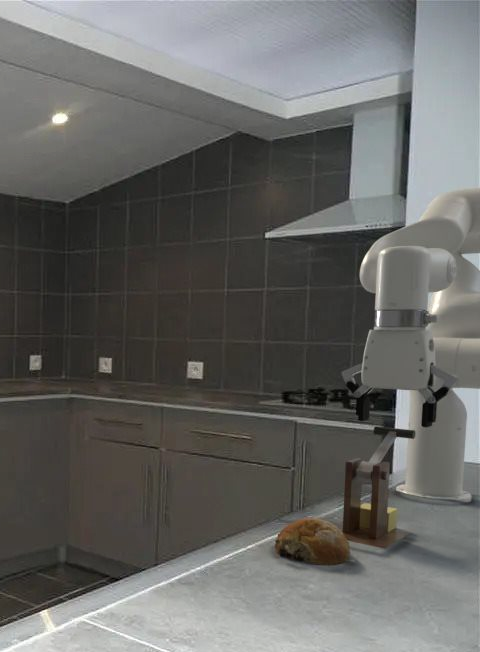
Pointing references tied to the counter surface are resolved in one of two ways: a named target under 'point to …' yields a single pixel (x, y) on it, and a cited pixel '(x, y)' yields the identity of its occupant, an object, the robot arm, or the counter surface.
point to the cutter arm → (381, 451)
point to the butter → (366, 511)
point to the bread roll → (313, 542)
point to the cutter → (378, 508)
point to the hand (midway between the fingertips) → (394, 423)
